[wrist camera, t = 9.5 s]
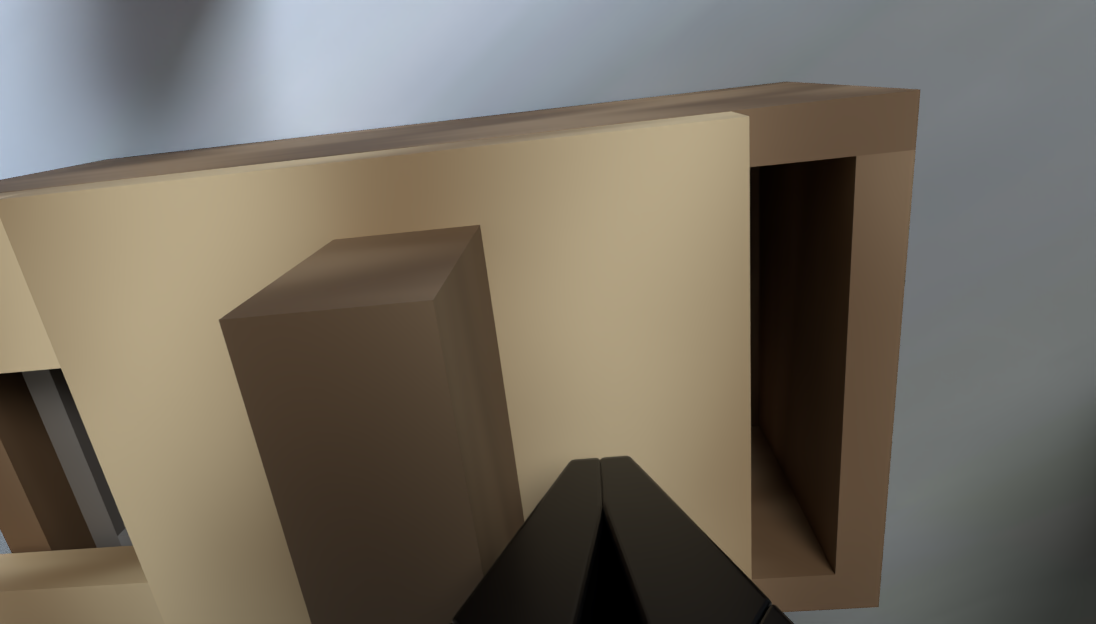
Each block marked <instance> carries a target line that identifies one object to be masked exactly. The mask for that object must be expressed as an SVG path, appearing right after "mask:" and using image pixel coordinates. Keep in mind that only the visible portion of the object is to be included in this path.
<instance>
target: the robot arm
mask: <svg viewBox="0 0 1096 624" xmlns="http://www.w3.org/2000/svg"><path fill="white" fill-rule="evenodd" d="M449 624H794V623H793V622H792V621H791V620H790V619H789V618H788V617H787V616H786V615H785V614H784V613H783V612H782V611H781V610H780V609H779V608H778V607H777V606H776V605H772V602H771V600H770V599H769V598H768V597H767V596H766V595H765V594H764V593H763V592H762V591H761V590H760V589H759V588H758V587H757V586H756V585H755V584H754V583H753V582H752V581H751V580H750V578H749V577H748V576H747V575H746V574H745V573H744V572H743V571H742V570H741V569H740V568H739V567H738V566H737V565H736V564H735V563H734V562H733V561H732V560H731V559H730V558H729V557H728V556H727V555H726V554H725V553H724V552H723V551H722V550H721V549H720V548H719V547H718V546H717V545H716V544H715V543H714V542H713V541H712V540H711V539H710V538H709V536H708V535H707V534H706V533H705V532H704V531H703V530H702V529H701V528H700V527H699V526H698V525H697V524H696V523H695V522H694V521H693V520H692V519H691V518H690V517H689V516H688V515H687V514H686V513H685V512H684V511H683V510H682V509H681V508H680V507H679V506H678V505H677V504H676V503H675V502H674V501H673V500H672V499H671V498H670V497H669V496H668V494H667V493H666V492H665V491H664V490H663V489H662V488H661V487H660V486H659V485H658V484H657V483H656V482H655V481H654V480H653V479H652V478H651V477H650V476H649V475H648V474H647V473H646V472H645V471H644V470H643V469H642V468H641V467H640V466H639V465H638V464H637V463H636V462H635V461H634V460H633V459H632V458H631V457H630V456H613V457H603V458H601V459H598V458H586V459H574V460H571V461H570V462H569V463H568V464H567V466H566V467H565V468H564V470H563V471H562V472H561V474H560V475H559V476H558V478H557V479H556V480H555V482H554V483H553V484H552V486H551V487H550V488H549V490H548V491H547V492H546V494H545V495H544V496H543V498H542V499H541V500H540V502H539V503H538V504H537V506H536V507H535V508H534V510H533V511H532V512H531V514H530V515H529V517H528V518H527V519H526V521H525V522H524V523H523V525H522V526H521V527H520V529H519V530H518V531H517V533H516V534H515V535H514V537H513V538H512V539H511V541H510V542H509V543H508V545H507V546H506V547H505V549H504V550H503V551H502V553H501V554H500V555H499V557H498V558H497V559H496V561H495V562H494V563H493V565H492V566H491V567H490V569H489V570H488V571H487V573H486V574H485V576H484V577H483V578H482V580H481V581H480V582H479V584H478V585H477V586H476V588H475V589H474V590H473V592H472V593H471V594H470V596H469V597H468V598H467V600H466V601H465V602H464V604H463V605H462V606H461V608H460V609H459V610H458V612H457V613H456V614H455V616H454V617H453V619H452V623H449Z"/></svg>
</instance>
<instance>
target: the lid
mask: <svg viewBox="0 0 1096 624" xmlns="http://www.w3.org/2000/svg"><path fill="white" fill-rule="evenodd" d="M58 368H61V369H62V372H63V374H64V377H65V379H66V382H67V384H68V387H69V389H70V392H71V394H72V397H73V399H74V401H75V404H76V406H77V409H78V411H79V414H80V416H81V419H82V421H83V424H84V426H85V429H86V431H87V434H88V436H89V438H90V441H91V443H92V446H93V448H94V451H95V453H96V456H97V458H98V461H99V463H100V466H101V468H102V470H103V473H104V475H105V478H106V480H107V483H108V485H109V488H110V490H111V493H112V495H113V498H114V500H115V503H116V505H117V507H118V510H119V512H120V515H121V517H122V520H123V522H124V525H125V527H126V530H127V532H128V535H129V537H130V540H131V542H132V544H133V546H118V547H103V548H87V549H72V550H57V551H42V552H27V553H11V554H0V624H449V623H452V619H453V617H454V616H455V614H456V613H457V612H458V610H459V609H460V608H461V606H462V605H463V604H464V602H465V601H466V600H467V598H468V597H469V596H470V594H471V593H472V592H473V590H474V589H475V588H476V586H477V585H478V584H479V582H480V581H481V580H482V578H483V577H484V576H485V574H486V573H487V571H488V570H489V569H490V567H491V566H492V565H493V563H494V562H495V561H496V559H497V558H498V557H499V555H500V554H501V553H502V551H503V550H504V549H505V547H506V546H507V545H508V543H509V542H510V541H511V539H512V538H513V537H514V535H515V534H516V533H517V531H518V530H519V529H520V527H521V526H522V525H523V523H524V522H525V521H526V519H527V518H528V517H529V515H530V514H531V512H532V511H533V510H534V508H535V507H536V506H537V504H538V503H539V502H540V500H541V499H542V498H543V496H544V495H545V494H546V492H547V491H548V490H549V488H550V487H551V486H552V484H553V483H554V482H555V480H556V479H557V478H558V476H559V475H560V474H561V472H562V471H563V470H564V468H565V467H566V466H567V464H568V463H569V462H570V461H571V460H574V459H586V458H598V459H601V458H603V457H613V456H630V457H631V458H632V459H633V460H634V461H635V462H636V463H637V464H638V465H639V466H640V467H641V468H642V469H643V470H644V471H645V472H646V473H647V474H648V475H649V476H650V477H651V478H652V479H653V480H654V481H655V482H656V483H657V484H658V485H659V486H660V487H661V488H662V489H663V490H664V491H665V492H666V493H667V494H668V496H669V497H670V498H671V499H672V500H673V501H674V502H675V503H676V504H677V505H678V506H679V507H680V508H681V509H682V510H683V511H684V512H685V513H686V514H687V515H688V516H689V517H690V518H691V519H692V520H693V521H694V522H695V523H696V524H697V525H698V526H699V527H700V528H701V529H702V530H703V531H704V532H705V533H706V534H707V535H708V536H709V538H710V539H711V540H712V541H713V542H714V543H715V544H716V545H717V546H718V547H719V548H720V549H721V550H722V551H723V552H724V553H725V554H726V555H727V556H728V557H729V558H730V559H731V560H732V561H733V562H734V563H735V564H736V565H737V566H738V567H739V568H740V569H741V570H742V571H743V572H744V573H745V574H746V575H747V576H748V577H749V578H750V580H751V581H752V569H751V363H750V156H749V116H746V115H743V114H739V113H735V112H732V111H730V112H721V113H712V114H703V115H694V116H685V117H677V118H668V119H659V120H650V121H641V122H632V123H623V124H614V125H605V126H596V127H587V128H578V129H569V130H560V131H551V132H542V133H533V134H524V135H515V136H506V137H497V138H488V139H479V140H470V141H462V142H453V143H444V144H435V145H426V146H417V147H408V148H399V149H390V150H381V151H372V152H363V153H354V154H345V155H336V156H327V157H318V158H309V159H300V160H291V161H282V162H273V163H264V164H256V165H247V166H238V167H229V168H220V169H211V170H202V171H193V172H184V173H175V174H166V175H157V176H148V177H139V178H130V179H121V180H112V181H103V182H94V183H85V184H76V185H67V186H58V187H49V188H41V189H32V190H23V191H14V192H5V193H0V374H1V373H12V372H24V371H35V370H46V369H58Z"/></svg>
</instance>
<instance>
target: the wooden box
mask: <svg viewBox="0 0 1096 624" xmlns="http://www.w3.org/2000/svg"><path fill="white" fill-rule="evenodd" d="M919 100H920V90H918V89H901V88H884V87H867V86H850V85H833V84H816V83H799V82H780V83H772V84H763V85H754V86H745V87H737V88H728V89H719V90H710V91H702V92H693V93H684V94H675V95H667V96H658V97H649V98H640V99H632V100H623V101H614V102H605V103H597V104H588V105H579V106H570V107H562V108H553V109H544V110H535V111H527V112H518V113H509V114H500V115H492V116H483V117H474V118H465V119H457V120H448V121H439V122H431V123H422V124H413V125H404V126H396V127H387V128H378V129H369V130H361V131H352V132H343V133H334V134H326V135H317V136H308V137H299V138H291V139H282V140H273V141H264V142H256V143H247V144H238V145H229V146H221V147H212V148H203V149H194V150H186V151H177V152H168V153H159V154H151V155H142V156H133V157H124V158H116V159H107V160H102V161H97V162H91V163H86V164H81V165H76V166H71V167H65V168H60V169H55V170H50V171H45V172H39V173H34V174H29V175H24V176H18V177H13V178H8V179H3V180H0V193H5V192H14V191H23V190H32V189H41V188H49V187H58V186H67V185H76V184H85V183H94V182H103V181H112V180H121V179H130V178H139V177H148V176H157V175H166V174H175V173H184V172H193V171H202V170H211V169H220V168H229V167H238V166H247V165H256V164H264V163H273V162H282V161H291V160H300V159H309V158H318V157H327V156H336V155H345V154H354V153H363V152H372V151H381V150H390V149H399V148H408V147H417V146H426V145H435V144H444V143H453V142H462V141H470V140H479V139H488V138H497V137H506V136H515V135H524V134H533V133H542V132H551V131H560V130H569V129H578V128H587V127H596V126H605V125H614V124H623V123H632V122H641V121H650V120H659V119H668V118H677V117H685V116H694V115H703V114H712V113H721V112H730V111H732V112H735V113H739V114H743V115H746V116H749V156H750V363H751V569H752V582H753V583H754V584H755V585H756V586H757V587H758V588H759V589H760V590H761V591H762V592H763V593H764V594H765V595H766V596H767V597H768V598H769V599H770V600H771V602H772V605H776V606H777V607H778V608H779V609H780V610H781V611H782V612H793V611H811V610H830V609H849V608H868V607H879V595H880V583H881V570H882V558H883V546H884V533H885V521H886V508H887V496H888V484H889V471H890V459H891V446H892V434H893V422H894V409H895V397H896V385H897V372H898V360H899V347H900V335H901V323H902V310H903V298H904V286H905V273H906V261H907V248H908V236H909V224H910V211H911V199H912V186H913V174H914V162H915V149H916V137H917V125H918V112H919ZM0 530H1V532H2V534H3V536H4V538H5V540H6V542H7V544H8V546H9V548H10V550H11V552H12V553H27V552H42V551H57V550H72V549H87V548H103V547H118V546H133V544H132V542H131V540H130V537H129V535H128V532H127V530H126V527H125V525H124V522H123V520H122V517H121V515H120V512H119V510H118V507H117V505H116V503H115V500H114V498H113V495H112V493H111V490H110V488H109V485H108V483H107V480H106V478H105V475H104V473H103V470H102V468H101V466H100V463H99V461H98V458H97V456H96V453H95V451H94V448H93V446H92V443H91V441H90V438H89V436H88V434H87V431H86V429H85V426H84V424H83V421H82V419H81V416H80V414H79V411H78V409H77V406H76V404H75V401H74V399H73V397H72V394H71V392H70V389H69V387H68V384H67V382H66V379H65V377H64V374H63V372H62V369H61V368H58V369H46V370H35V371H24V372H12V373H1V374H0Z"/></svg>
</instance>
